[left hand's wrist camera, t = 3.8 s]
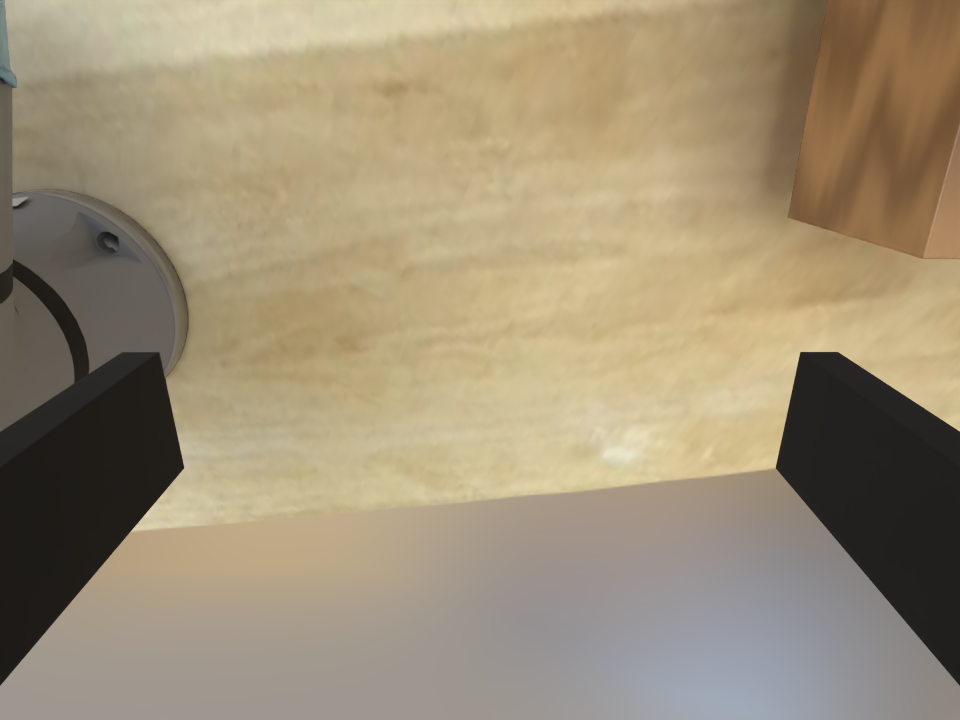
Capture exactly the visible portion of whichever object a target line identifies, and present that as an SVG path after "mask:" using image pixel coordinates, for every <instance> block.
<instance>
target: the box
mask: <svg viewBox="0 0 960 720" xmlns="http://www.w3.org/2000/svg"><path fill="white" fill-rule="evenodd" d="M788 218H791V219H794V220H797V221H801V222H804V223H807V224H811V225H814V226H817V227H820V228H824V229H827V230H830V231H834V232H837V233H840V234H843V235H847V236H850V237H853V238H857V239H860V240H863V241H867V242H870V243H873V244H876V245H880V246H883V247H886V248H890V249H893V250H896V251H899V252H903V253H906V254H909V255H913V256H916V257H919V258H922V259H960V0H828V3H827V8H826V14H825V19H824V25H823V30H822V35H821V41H820V46H819V52H818V57H817V63H816V68H815V73H814V79H813V84H812V90H811V95H810V100H809V106H808V111H807V117H806V122H805V128H804V133H803V138H802V144H801V149H800V155H799V160H798V165H797V171H796V176H795V182H794V187H793V192H792V198H791V203H790V209H789V214H788Z"/></svg>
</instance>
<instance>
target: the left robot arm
mask: <svg viewBox="0 0 960 720" xmlns="http://www.w3.org/2000/svg"><path fill="white" fill-rule="evenodd" d="M16 84H17V81H16V77H15V75H14V73H13V72H12V71H11V70H10V61H9V52H8V40H7V25H6V11H5V1H4V0H0V685H1V684H2V683H3V682H4V681H5V679H6V678H7V677H8V676H9V675H10V673H11V672H12V671H13V670H14V669H15V667H16V666H17V665H18V664H19V663H20V662H21V660H22V659H23V658H24V657H25V656H26V655H27V653H28V652H29V651H30V650H31V649H32V647H33V646H34V645H35V644H36V643H37V642H38V640H39V639H40V638H41V637H42V636H43V634H44V633H45V632H46V631H47V630H48V628H49V627H50V626H51V625H52V624H53V623H54V621H55V620H56V619H57V618H58V617H59V616H60V614H61V613H62V612H63V611H64V610H65V608H66V607H67V606H68V605H69V604H70V602H71V601H72V600H73V599H74V598H75V597H76V595H77V594H78V593H79V592H80V591H81V589H82V588H83V587H84V586H85V585H86V584H87V582H88V581H89V580H90V579H91V578H92V576H93V575H94V574H95V573H96V572H97V571H98V569H99V568H100V567H101V566H102V565H103V563H104V562H105V561H106V560H107V559H108V558H109V556H110V555H111V554H112V553H113V552H114V550H115V549H116V548H117V547H118V546H119V545H120V543H121V542H122V541H123V540H124V539H125V537H126V536H127V535H128V534H129V533H130V532H131V530H132V529H133V528H134V527H135V526H136V524H137V523H138V522H139V521H140V520H141V519H142V517H143V516H144V515H145V514H146V513H147V511H148V510H149V509H150V508H151V507H152V506H153V504H154V503H155V502H156V501H157V500H158V498H159V497H160V496H161V495H162V494H163V493H164V491H165V490H166V489H167V488H168V487H169V485H170V484H171V483H172V482H173V481H174V480H175V478H176V477H177V476H178V475H179V474H180V472H181V471H182V470H183V469H184V465H183V460H182V455H181V451H180V446H179V441H178V437H177V432H176V427H175V422H174V418H173V413H172V408H171V404H170V399H169V394H168V390H167V385H166V380H165V377H166V376H167V375H168V374H169V373H170V371H171V370H172V369H173V368H174V366H175V365H176V363H177V361H178V360H179V357H180V355H181V353H182V351H183V348H184V344H185V341H186V335H187V326H188V315H187V306H186V300H185V296H184V292H183V289H182V286H181V283H180V281H179V278H178V276H177V274H176V272H175V270H174V268H173V266H172V264H171V263H170V261H169V259H168V258H167V256H166V255H165V253H164V252H163V251H162V249H161V248H160V247H159V246H158V244H157V243H156V242H155V241H154V240H153V239H152V238H151V236H150V235H149V234H148V233H147V232H146V231H145V230H143V229H142V228H141V227H140V226H139V225H138V224H137V223H135V222H134V221H133V220H131V219H130V218H129V217H128V216H126V215H124V214H123V213H121V212H120V211H118V210H117V209H115V208H113V207H111V206H109V205H107V204H106V203H103V202H101V201H99V200H96V199H94V198H91V197H88V196H85V195H82V194H78V193H74V192H69V191H63V190H50V189H44V190H32V191H26V192H20V193H13V194H12V88H16ZM776 469H777V470H778V471H779V472H780V474H781V475H782V476H783V477H784V478H785V480H786V481H787V482H788V483H789V484H790V485H791V487H792V488H793V489H794V490H795V491H796V493H797V494H798V495H799V496H800V497H801V498H802V500H803V501H804V502H805V503H806V504H807V506H808V507H809V508H810V509H811V510H812V511H813V513H814V514H815V515H816V516H817V517H818V518H819V520H820V521H821V522H822V523H823V524H824V526H825V527H826V528H827V529H828V530H829V532H830V533H831V534H832V535H833V536H834V537H835V539H836V540H837V541H838V542H839V543H840V544H841V546H842V547H843V548H844V549H845V550H846V552H847V553H848V554H849V555H850V556H851V558H852V559H853V560H854V561H855V562H856V563H857V565H858V566H859V567H860V568H861V569H862V571H863V572H864V573H865V574H866V575H867V576H868V578H869V579H870V580H871V581H872V582H873V584H874V585H875V586H876V587H877V588H878V589H879V591H880V592H881V593H882V594H883V595H884V597H885V598H886V599H887V600H888V601H889V602H890V604H891V605H892V606H893V607H894V608H895V610H896V611H897V612H898V613H899V614H900V615H901V617H902V618H903V619H904V620H905V621H906V623H907V624H908V625H909V626H910V627H911V629H912V630H913V631H914V632H915V633H916V634H917V636H918V637H919V638H920V639H921V640H922V641H923V643H924V644H925V645H926V646H927V647H928V649H929V650H930V651H931V652H932V653H933V655H934V656H935V657H936V658H937V659H938V660H939V662H940V663H941V664H942V665H943V666H944V667H945V669H946V670H947V671H948V672H949V673H950V675H951V676H952V677H953V678H954V679H955V680H956V682H957V683H958V684H959V685H960V432H959V431H958V430H956V429H955V428H953V427H952V426H950V425H949V424H947V423H946V422H944V421H943V420H941V419H939V418H938V417H936V416H935V415H933V414H932V413H930V412H929V411H927V410H926V409H924V408H923V407H921V406H920V405H918V404H917V403H915V402H913V401H912V400H910V399H909V398H907V397H906V396H904V395H903V394H901V393H900V392H898V391H897V390H895V389H894V388H892V387H891V386H889V385H887V384H886V383H884V382H883V381H881V380H880V379H878V378H877V377H875V376H874V375H872V374H871V373H869V372H868V371H866V370H864V369H863V368H861V367H860V366H858V365H857V364H855V363H854V362H852V361H851V360H849V359H848V358H846V357H845V356H843V355H842V354H840V353H838V352H800V357H799V362H798V366H797V371H796V376H795V380H794V385H793V390H792V394H791V399H790V404H789V408H788V413H787V418H786V422H785V427H784V432H783V437H782V441H781V446H780V451H779V455H778V460H777V465H776Z"/></svg>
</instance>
